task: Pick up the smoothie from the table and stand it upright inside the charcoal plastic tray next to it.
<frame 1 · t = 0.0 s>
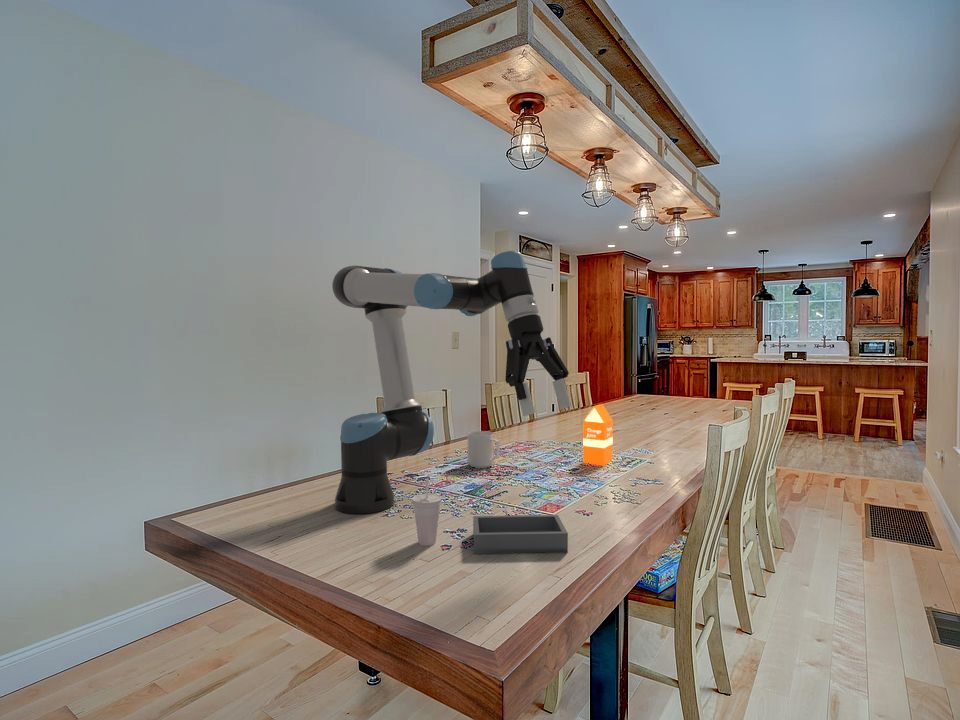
hand: (548, 411, 114), 28 cm above the table, tool tilted 20°, fingers open, 13 cm apart
tray: (518, 542, 113), on the table
orange juice: (597, 462, 185), on the table
mug: (484, 467, 179), on the table
smoothie: (427, 543, 113), on the table
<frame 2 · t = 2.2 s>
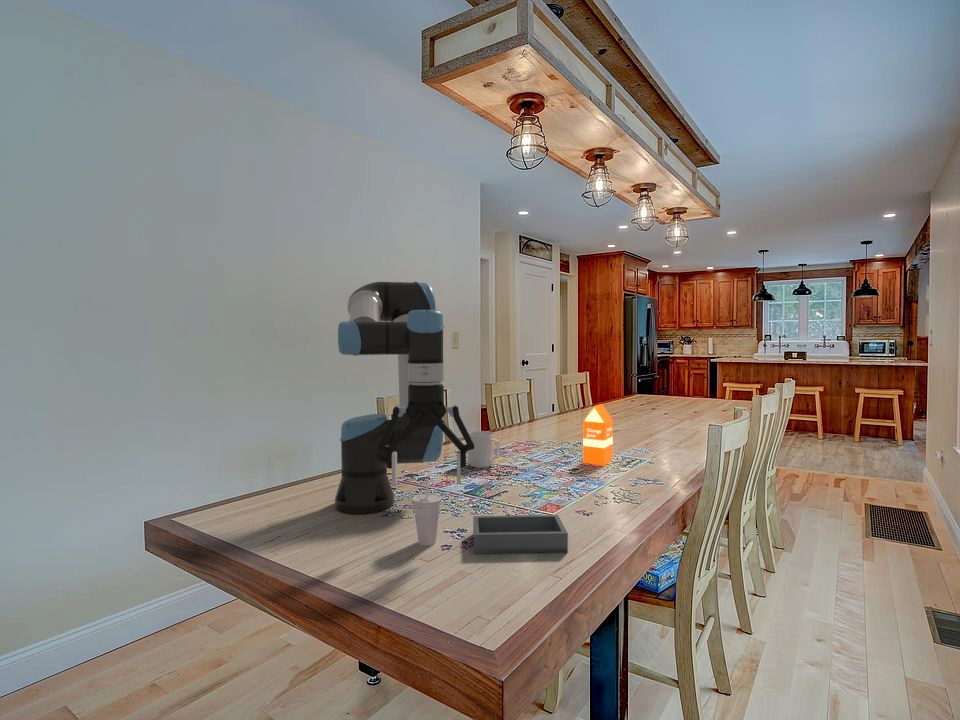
hand: (426, 483, 112), 13 cm above the table, tool pointing down, fingers open, 13 cm apart
nothing on the table moved.
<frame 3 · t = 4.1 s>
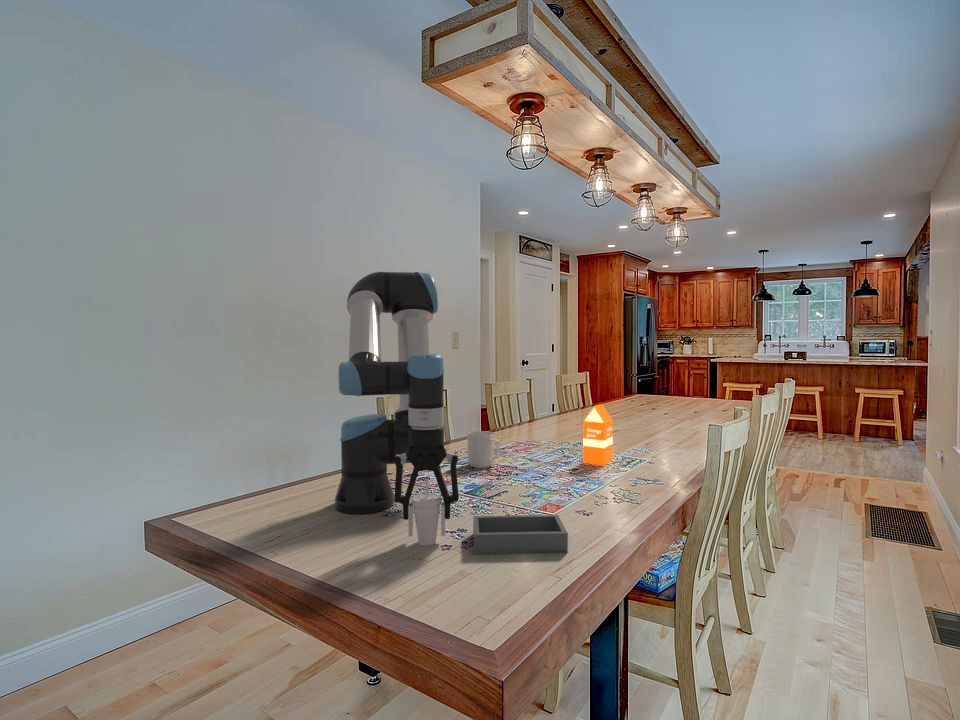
hand: (427, 533, 113), 2 cm above the table, tool pointing down, fingers closed on smoothie, 6 cm apart
smoothie: (427, 543, 113), on the table, touching gripper
everything else where it was.
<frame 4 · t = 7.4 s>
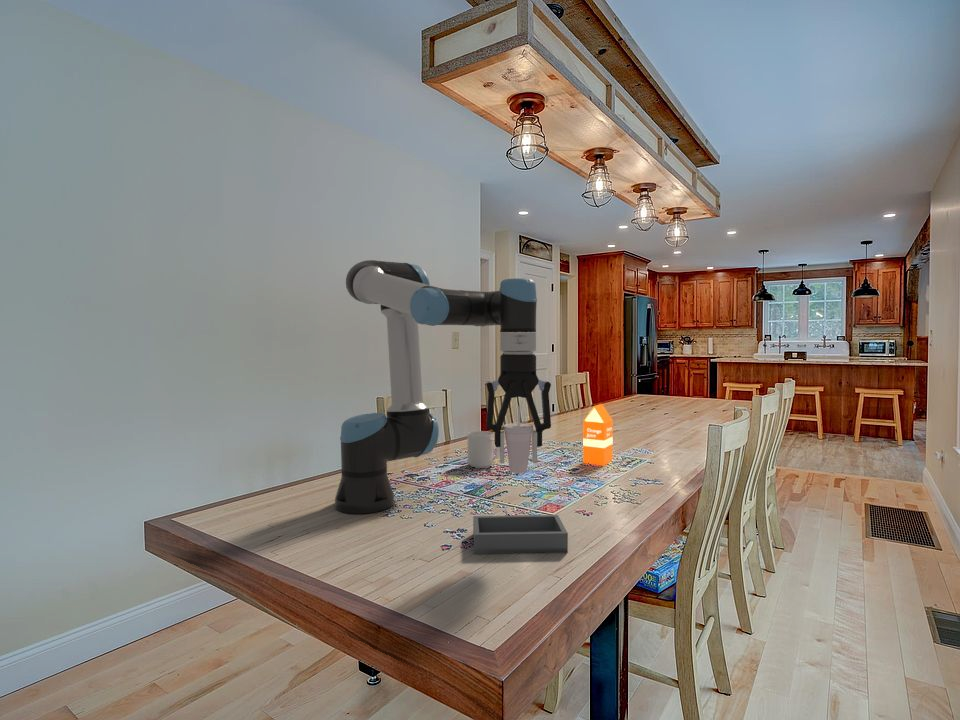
hand: (518, 461, 112), 17 cm above the table, tool pointing down, fingers closed on smoothie, 6 cm apart
smoothie: (518, 471, 112), point 15 cm above the table, touching gripper
everything else where it was.
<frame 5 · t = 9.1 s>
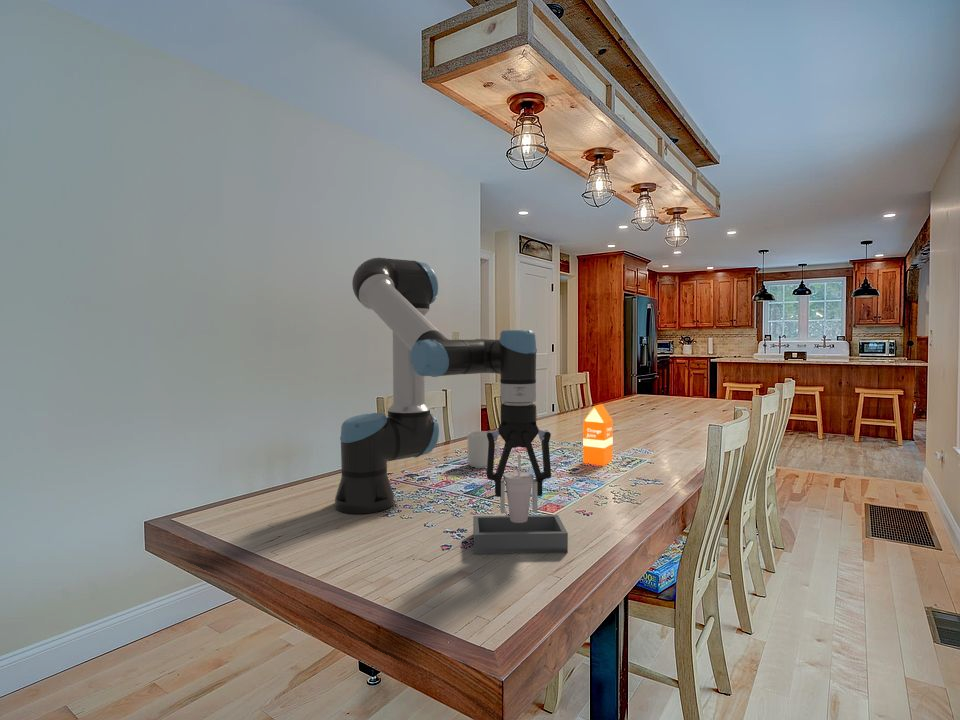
hand: (518, 510, 112), 7 cm above the table, tool pointing down, fingers closed on smoothie, 6 cm apart
smoothie: (518, 520, 112), point 5 cm above the table, touching gripper
everything else where it was.
when the fingers open (4 cm above the table, at t = 10.5 s): smoothie drops 1 cm, resting on tray.
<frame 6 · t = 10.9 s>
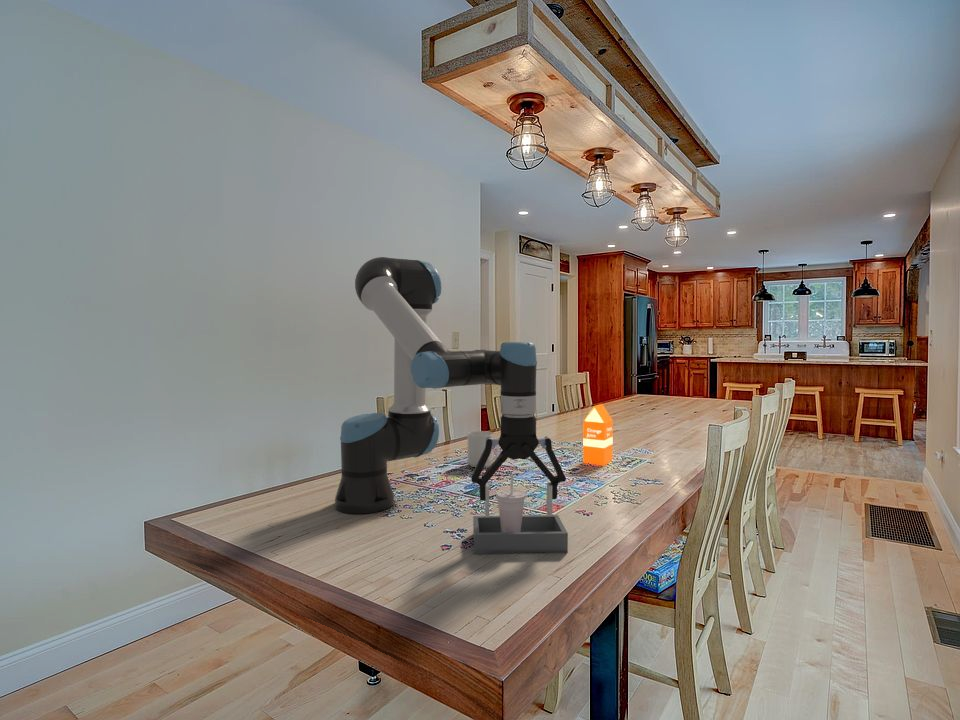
hand: (518, 514, 113), 6 cm above the table, tool pointing down, fingers open, 13 cm apart
smoothie: (510, 539, 113), point 1 cm above the table, touching tray
everything else where it was.
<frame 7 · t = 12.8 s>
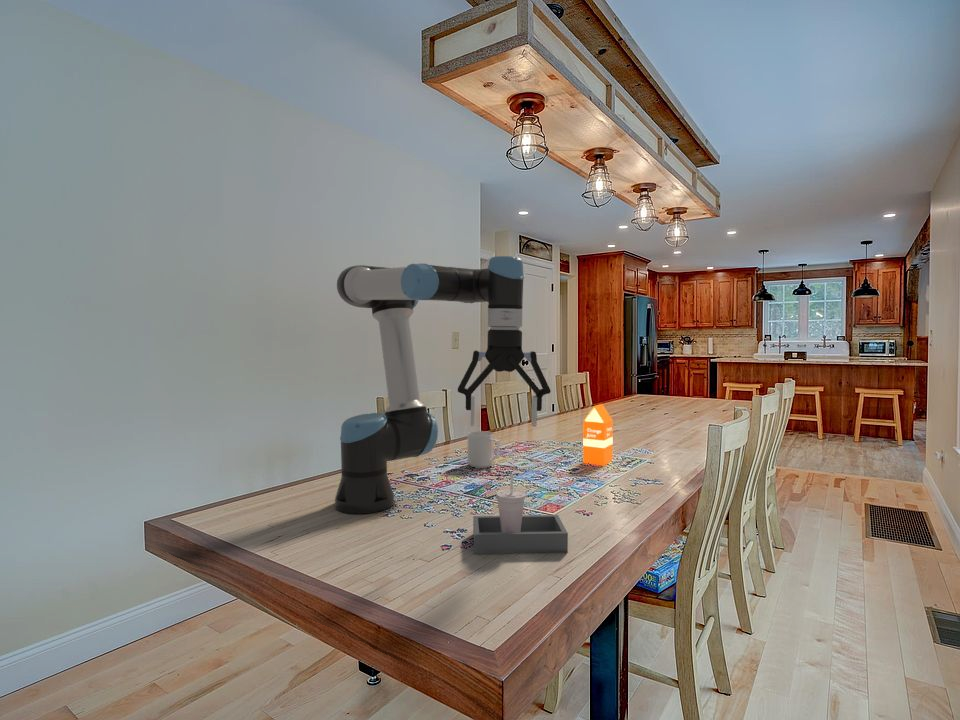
hand: (503, 425, 116), 24 cm above the table, tool pointing down, fingers open, 13 cm apart
nothing on the table moved.
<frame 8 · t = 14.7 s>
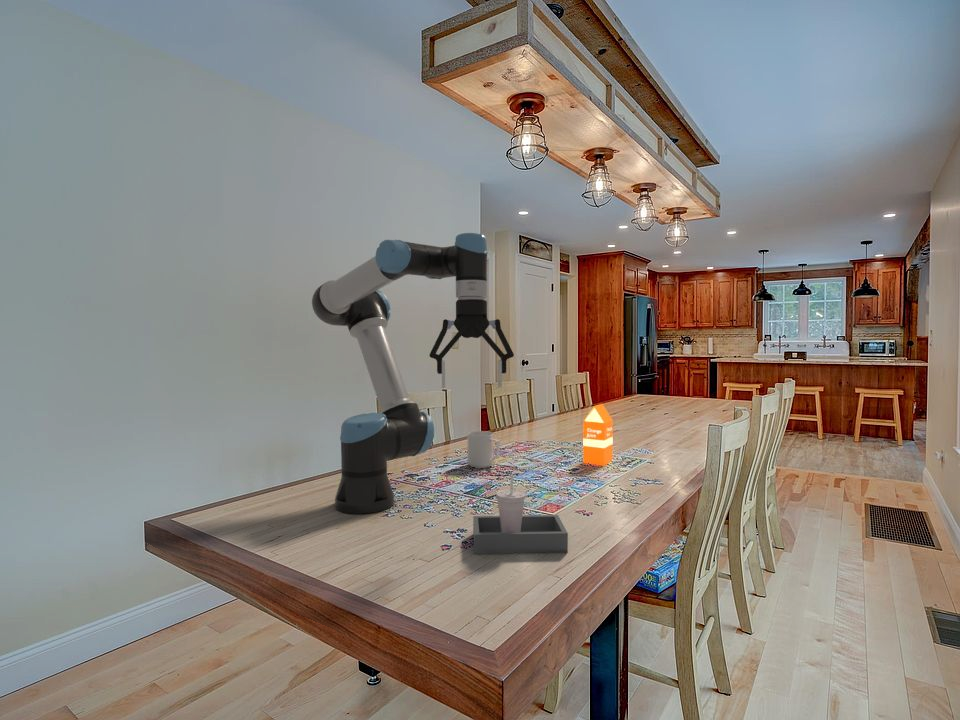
hand: (471, 387, 128), 32 cm above the table, tool pointing down, fingers open, 13 cm apart
nothing on the table moved.
at the end: smoothie inside the target area on the tray (1.6 cm from its centre), point 0.8 cm above the tray's base; smoothie tilted 0°; the gripper is holding nothing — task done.
